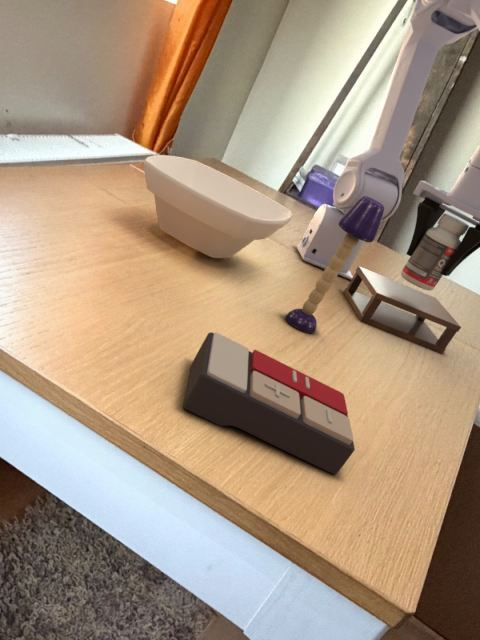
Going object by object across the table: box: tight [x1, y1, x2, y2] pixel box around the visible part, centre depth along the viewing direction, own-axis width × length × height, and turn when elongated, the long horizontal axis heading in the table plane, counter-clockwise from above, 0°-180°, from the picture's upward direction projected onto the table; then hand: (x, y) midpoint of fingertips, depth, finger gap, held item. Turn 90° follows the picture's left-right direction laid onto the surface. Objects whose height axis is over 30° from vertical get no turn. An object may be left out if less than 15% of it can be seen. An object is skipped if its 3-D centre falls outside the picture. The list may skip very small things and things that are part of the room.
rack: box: [342, 265, 462, 354], centre depth 114 cm, size 14×12×4 cm
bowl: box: [143, 154, 293, 259], centre depth 107 cm, size 21×21×9 cm
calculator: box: [183, 331, 356, 475], centre depth 69 cm, size 11×4×15 cm
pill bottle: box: [400, 213, 470, 292], centre depth 109 cm, size 5×5×10 cm
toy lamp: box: [285, 196, 384, 334], centre depth 93 cm, size 5×5×17 cm
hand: (427, 264), depth 110 cm, fingers closed on pill bottle, 5 cm apart
